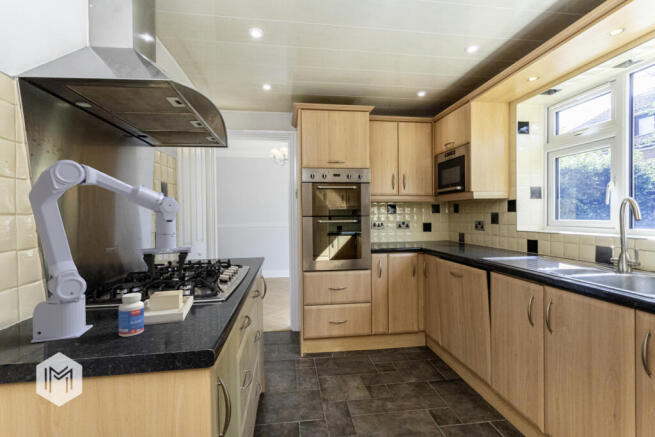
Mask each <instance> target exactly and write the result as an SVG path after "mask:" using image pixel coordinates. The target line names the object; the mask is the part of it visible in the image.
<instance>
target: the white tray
mask: <svg viewBox="0 0 655 437" xmlns="http://www.w3.org/2000/svg"><path fill="white" fill-rule="evenodd" d="M142 302H143V303H144V326H150V325H158V324H159V325H160V324H167V323H179V322H184V320H185V318H186V317H187V315H188V313H189V311H190V310H191V308H192V305H193V304H194V295H187V296H183V304H182V305H181V307H180V308H179V309H170V310H159V311H150V298H149V299H145V301H142Z"/></svg>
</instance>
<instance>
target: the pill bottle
mask: <svg viewBox="0 0 655 437" xmlns="http://www.w3.org/2000/svg"><path fill="white" fill-rule="evenodd" d="M121 300H122V303H121V304H119V306H118V335H119V336H121V337H125V338H126V337H132V336H136V335H139V334H141V333H143V332H144V330H145V325H144V303H143V302H144V301H141V300H142V293H140V292H131V293H126V294H123V295H122V298H121Z"/></svg>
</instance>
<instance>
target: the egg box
mask: <svg viewBox="0 0 655 437" xmlns="http://www.w3.org/2000/svg"><path fill="white" fill-rule="evenodd" d="M183 292H184V290H183V289H180V290H167V291H166V290H164V291H155V292H154V293H152V294H151V295H150V296H149V299H150V311H159V310H170V309H179V308H180V307H181V305H182V304H183V297H184V296H183Z"/></svg>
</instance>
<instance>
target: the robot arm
mask: <svg viewBox="0 0 655 437" xmlns="http://www.w3.org/2000/svg"><path fill="white" fill-rule="evenodd" d="M76 185H78V186H97V187H100V188H102V189H103V188H104V189H105V190H109V191H111V192H114V193H117V194H120V195H123V196H126V197H127V199H128V201H129V203H131V204H134V205H137V206H139V207H142V208H145V209H147V210H150V211H153V212H154V214H155V247H152V248H151V247H149V248H139V251H138V253H139V254H138V256H140V257H142V256H143V257H142V260H143V262H144V263H145V264H146V267H147V269H148V272H149V275H150V279H154V278H155V277H156V271H155V270H156V269H155V267H156V266H155V262H156V260H155V259H156V255H157V256H158V255H171V254H172V255H173V254H178V255H177V257H178V259H177V260H178V273H177V274H178V277H181V276H183V269H184V266H185V263H186V260H187V258H188V256H189V254H192V250H193V249H192V246H177V212H178V211H179V209H180V205H179V203H178V201H177V200H176V198H174V197H172V196H165V195H164V192H158V191H155V190H153V189H151V188H149V185H146V184H142V185H141V184H136V185H130V184H128V183H126V182H124V181H123V180H122V181H121V180H119V179H117V178H115V177H113V176H111V175H109V174H107V173H104V172H101V171H100V170H97V169H95V168H94V167H91V166H89V165H86V164H82V163H81V164H79V163H78V162H76V161H74V160H71V159H61V160H58V161H56V162H54V163H53V164H52V165H50V166H49V167H47V168H46V169H45V170H43V171H42V172H41V173H40V174H39V176H38V178H37V180H36V181H35V183H34V184H33V186H32V188H31V190H30V191H29V193H28V201H29V204H30V208H31V211H32V215H33V218H34V222H35V224H36V227H37V231H38V235H39V238H40V242H41V246H42V248H43V249H42V250H43V252H44V255H45V260H46V263H47V271H48V275H49V276H48V277H49V278H48V281H47V285H46V287H47V289H48V291H49V292H50V293H51V294H50V296H49V297H48V299H47V300H46V301H41V302H39V303H38V304H36V306H35V307H34V309H33V312H32V340H30V343H38V342H39V343H40V342H41V343H42V342H48V341H58V340H66V339H73V338H74V339H75V338H79V337H81V336H82V335H83V334H85V333H86V332H87V331H88V330H90V329H91V328H93V327H94V325H93V324H87V322H86V320H87V319H86V318H87V317H86V294H85V292H86V290H87V282H86V281H85V279H84V278H82V277H81V275H80V274H79V271H78V269H77V267H76V265H75V262H74V260H73V256H72V253H71V249H70V245H69V241H68V238H67V233H66V230H65V227H64V222H63V219H62V215H61V212H60V209H59V205H58V199H59V198H61V197H62V195H64V194H65V192H66V191H67V190H68V189H70V188H73V187H74V186H76ZM86 324H87V325H86Z"/></svg>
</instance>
